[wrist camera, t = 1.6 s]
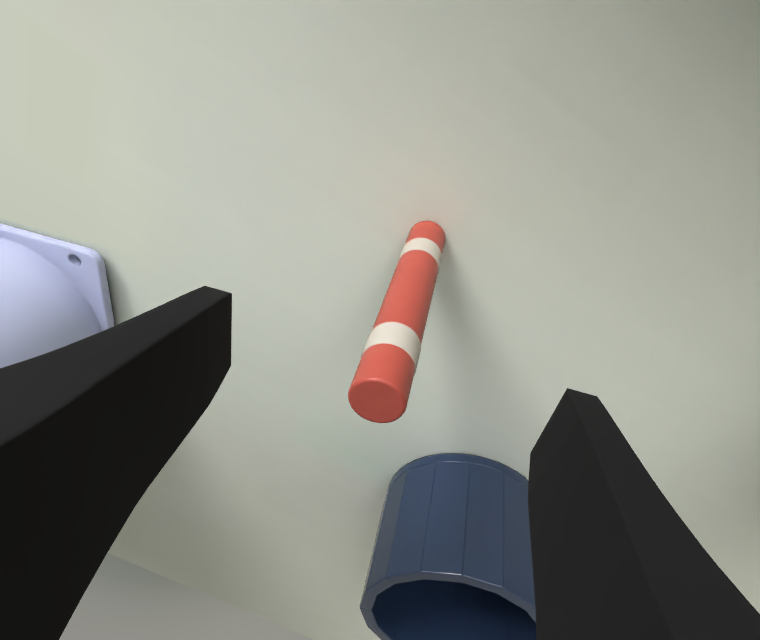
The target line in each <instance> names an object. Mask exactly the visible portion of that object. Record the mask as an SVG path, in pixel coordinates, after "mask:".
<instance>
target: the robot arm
mask: <svg viewBox="0 0 760 640" xmlns="http://www.w3.org/2000/svg"><path fill="white" fill-rule="evenodd" d="M77 257H78V258H79V259H80V260H79V259H78V258H77ZM231 320H232V293H228V292H225V291H221V290H218V289H214V288H211V287H207V286H203V287H201V288H198V289H196V290H194V291H191V292H189V293H187V294H185V295H182V296H180V297H178V298H176V299H174V300H171V301H169V302H167V303H165V304H163V305H161V306H158V307H156V308H154V309H152V310H150V311H147V312H145V313H143V314H141V315H139V316H136V317H134V318H132V319H130V320H127V321H125V322H123V323H121V324H118V325H116V326H115V324H114V318H113V312H112V306H111V300H110V293H109V287H108V281H107V275H106V269H105V263H104V260H103V258H102V256H101V255H100V254H99V253H98V252H97V251H95V250H93V249H91V248H87V247H83V246H80V245H76V244H73V243H69V242H66V241H62V240H58V239H55V238H51V237H48V236H44V235H41V234H37V233H33V232H30V231H26V230H23V229H19V228H16V227H12V226H8V225H5V224H1V223H0V640H59V638H60V637H61V635H62V633H63V631H64V629H65V627H66V625H67V624H68V622H69V620H70V618H71V616H72V614H73V612H74V611H75V609H76V607H77V605H78V603H79V601H80V599H81V598H82V596H83V594H84V592H85V591H86V589H87V587H88V585H89V584H90V582H91V580H92V578H93V577H94V575H95V573H96V571H97V570H98V568H99V566H100V564H101V563H102V561H103V559H104V557H105V556H106V554H107V552H108V551H109V549H110V547H111V546H112V544H113V542H114V541H115V539H116V537H117V536H118V534H119V532H120V531H121V529H122V527H123V526H124V524H125V522H126V521H127V519H128V517H129V516H130V514H131V512H132V511H133V509H134V507H135V506H136V504H137V503H138V501H139V500H140V498H141V497H142V496H143V494H144V493H145V491H146V490H147V488H148V487H149V485H150V484H151V483H152V481H153V480H154V479H155V477H156V476H157V475H158V473H159V472H160V471H161V469H162V468H163V467H164V465H165V464H166V463H167V461H168V460H169V459H170V457H171V456H172V455H173V453H174V452H175V451H176V449H177V448H178V446H179V445H180V444H181V442H182V441H183V440H184V438H185V437H186V436H187V434H188V433H189V432H190V430H191V429H192V428H193V426H194V425H195V424H196V422H197V421H198V419H199V418H200V417H201V415H202V414H203V413H204V411H205V410H206V408H207V407H208V406H209V404H210V403H211V401H212V399H213V397H214V396H215V394H216V392H217V390H218V389H219V387H220V385H221V383H222V381H223V379H224V378H225V376H226V374H227V372H228V370H229V368H230V366H231ZM528 510H529V525H530V540H531V554H532V567H533V581H534V594H535V608H536V640H760V614H759V613H758V612H757V611H756V609H755V608H754V607H753V606H752V605H751V604H750V603H749V602H748V600H747V599H746V598H745V597H744V596H743V595H742V593H741V592H740V591H739V590H738V589H737V588H736V586H735V585H734V584H733V583H732V582H731V581H730V579H729V578H728V577H727V576H726V575H725V574H724V572H723V571H722V570H721V569H720V568H719V567H718V565H717V564H716V563H715V562H714V561H713V559H712V558H711V557H710V556H709V554H708V553H707V552H706V551H705V549H704V548H703V547H702V546H701V544H700V543H699V542H698V540H697V539H696V538H695V537H694V535H693V534H692V533H691V531H690V530H689V529H688V527H687V526H686V525H685V523H684V522H683V521H682V519H681V518H680V517H679V516H678V514H677V513H676V512H675V510H674V509H673V507H672V506H671V505H670V503H669V502H668V500H667V499H666V498H665V496H664V495H663V494H662V492H661V491H660V489H659V488H658V486H657V485H656V484H655V482H654V481H653V479H652V478H651V476H650V475H649V473H648V472H647V470H646V469H645V468H644V466H643V465H642V463H641V462H640V460H639V459H638V457H637V456H636V454H635V453H634V451H633V450H632V448H631V446H630V445H629V443H628V442H627V440H626V439H625V437H624V436H623V434H622V433H621V431H620V430H619V428H618V427H617V425H616V424H615V422H614V420H613V419H612V417H611V416H610V414H609V413H608V411H607V410H606V408H605V407H604V405H603V404H602V403H601V401H600V400H599V398H598V397H597V396H593V395H590V394H586V393H583V392H579V391H575V390H572V389H568V388H567V390H566V392H565V393H564V395H563V397H562V399H561V400H560V402H559V404H558V406H557V407H556V409H555V411H554V413H553V414H552V416H551V418H550V420H549V421H548V423H547V425H546V427H545V429H544V430H543V432H542V434H541V436H540V437H539V439H538V441H537V443H536V444H535V446H534V448H533V450H532V451H531V455H530V469H529V485H528Z"/></svg>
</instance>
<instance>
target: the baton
mask: <svg viewBox="0 0 760 640" xmlns="http://www.w3.org/2000/svg"><path fill="white" fill-rule="evenodd" d="M444 244H445V233H444V231H443V229H442V228H441V227H440V226H439V225H438V224H436V223H434V222H431V221H422V222H419V223H417V224H416V225H414V226H413V227H412V229H411V231H410V233H409V236H408V238H407V241H406V244H405V246H404V247H403V249H402V252H401V255H400V257H399V260H398V264H397V267H396V269H395V272H394V275H393V277H392V280H391V282H390V285H389V288H388V290H387V293H386V295H385V298H384V301H383V303H382V306H381V308H380V311H379V314H378V316H377V319H376V321H375V324H374V327H373V329H372V331H371V333H370V335H369V337H368V340H367V342H366V345H365V347H364V350H363V353H362V355H361V360H360V363H359V365H358V368H357V371H356V373H355V376H354V378H353V381H352V384H351V386H350V389H349V392H348V398H349V403H350V405H351V407H352V408H353V410H354V411H355V412H356V413H357V414H358V415H360V416H361V417H363V418H364V419H367V420H369V421H372V422H377V423H388V422H392V421H395V420H397V419H398V418H399V417H401V416H402V414H403V413H404V412H405V410H406V406H407V402H408V398H409V394H410V389H411V385H412V381H413V377H414V374H415V372H416V368H417V363H418V359H419V355H420V350H421V342H422V338H423V334H424V330H425V325H426V321H427V317H428V312H429V308H430V304H431V300H432V295H433V291H434V287H435V283H436V278H437V275H438V273H439V268H440V264H441V260H442V253H443V248H444Z"/></svg>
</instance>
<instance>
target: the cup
mask: <svg viewBox="0 0 760 640" xmlns="http://www.w3.org/2000/svg"><path fill="white" fill-rule="evenodd" d="M528 485H529V481H528V480H527V479H526V478H525V477H524V476H522V475H521V474H519V473H518V472H517V471H515V470H513V469H511V468H510V467H508V466H506V465H503V464H501V463H499V462H496V461H493V460H490V459H487V458H483V457H479V456H474V455H468V454H456V453H450V454H437V455H431V456H426V457H422V458H420V459H417V460H414V461H412V462H410V463H408V464H407V465H405V466H404V467H402V468H401V469H400V470H399V471H398V472H397V473H396V474H395V475H394V477H393V478H392V479H391V481H390V484H389V486H388V490H387V495H386V498H385V501H384V504H383V509H382V513H381V517H380V521H379V526H378V530H377V534H376V539H375V543H374V547H373V551H372V556H371V560H370V564H369V568H368V573H367V577H366V581H365V586H364V590H363V594H362V598H361V603H360V609H361V612H362V614H363V617H364V619H365V622H366V624H367V626H368V627H369V628H370V629H371V630H372V631H373V632H374V633H375V634H376V635H377V636H378V637H379V638H380V639H381V640H536V608H535V594H534V581H533V567H532V554H531V540H530V525H529V510H528Z"/></svg>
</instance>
